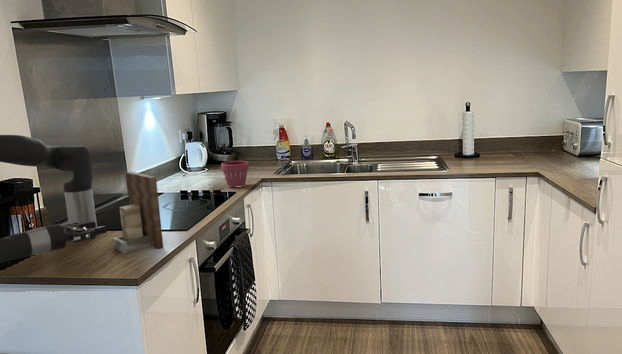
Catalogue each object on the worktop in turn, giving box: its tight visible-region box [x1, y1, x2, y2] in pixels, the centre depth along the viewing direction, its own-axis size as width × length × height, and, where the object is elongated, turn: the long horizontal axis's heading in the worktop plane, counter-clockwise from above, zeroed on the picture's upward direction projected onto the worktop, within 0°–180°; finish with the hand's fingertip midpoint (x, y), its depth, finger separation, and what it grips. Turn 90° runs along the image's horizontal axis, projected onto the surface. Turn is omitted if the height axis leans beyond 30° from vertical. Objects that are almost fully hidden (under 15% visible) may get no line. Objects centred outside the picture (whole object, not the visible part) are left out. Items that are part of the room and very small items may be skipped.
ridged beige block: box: [119, 204, 143, 241], centre depth 160 cm, size 4×6×14 cm
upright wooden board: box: [112, 171, 164, 255], centre depth 159 cm, size 18×11×24 cm, turn 45°
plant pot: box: [220, 160, 250, 187], centre depth 251 cm, size 14×14×13 cm
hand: (100, 226), depth 152 cm, fingers open, 8 cm apart
